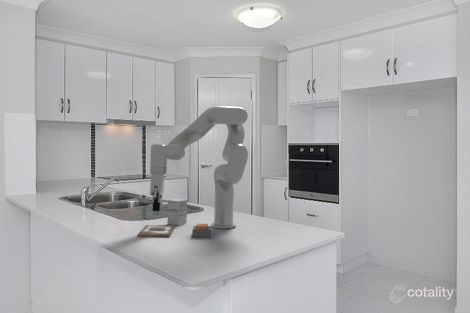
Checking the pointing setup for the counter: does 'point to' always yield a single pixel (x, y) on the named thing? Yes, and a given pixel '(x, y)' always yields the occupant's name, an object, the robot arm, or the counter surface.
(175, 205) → the supplement box
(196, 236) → the button housing
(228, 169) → the robot arm
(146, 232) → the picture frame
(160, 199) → the cylinder
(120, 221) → the counter surface
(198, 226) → the button
